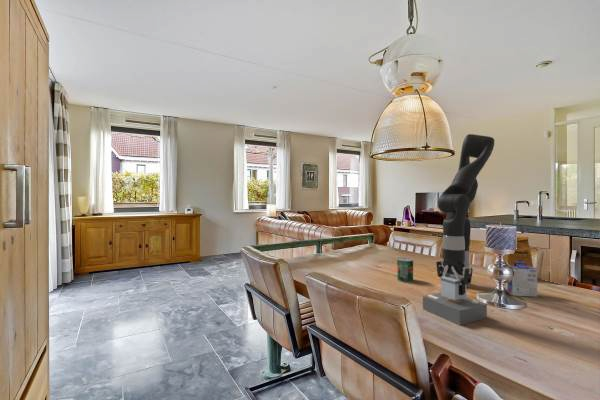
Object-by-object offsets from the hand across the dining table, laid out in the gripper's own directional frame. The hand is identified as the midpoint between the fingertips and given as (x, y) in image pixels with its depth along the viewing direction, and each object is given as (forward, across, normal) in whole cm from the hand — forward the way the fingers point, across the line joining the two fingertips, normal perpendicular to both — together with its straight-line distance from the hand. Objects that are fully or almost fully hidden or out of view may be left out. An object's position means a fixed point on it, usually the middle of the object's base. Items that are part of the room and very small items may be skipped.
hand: (453, 291), depth 111 cm
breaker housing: (+8, 0, 0) cm, 8 cm away
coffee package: (+8, +19, -71) cm, 74 cm away
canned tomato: (+8, +41, -15) cm, 44 cm away
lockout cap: (+2, 0, 0) cm, 2 cm away
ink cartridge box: (+8, +2, -45) cm, 46 cm away
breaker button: (+8, 0, 0) cm, 8 cm away
